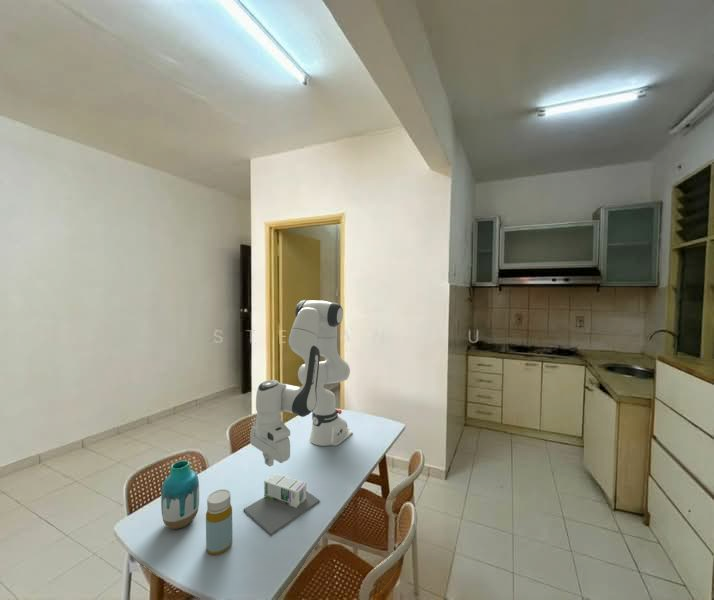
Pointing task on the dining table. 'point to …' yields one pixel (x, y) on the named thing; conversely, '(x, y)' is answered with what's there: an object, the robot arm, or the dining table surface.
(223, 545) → the bottle
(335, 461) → the dining table surface
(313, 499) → the mat
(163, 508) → the vase
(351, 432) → the robot arm
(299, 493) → the syrup box
